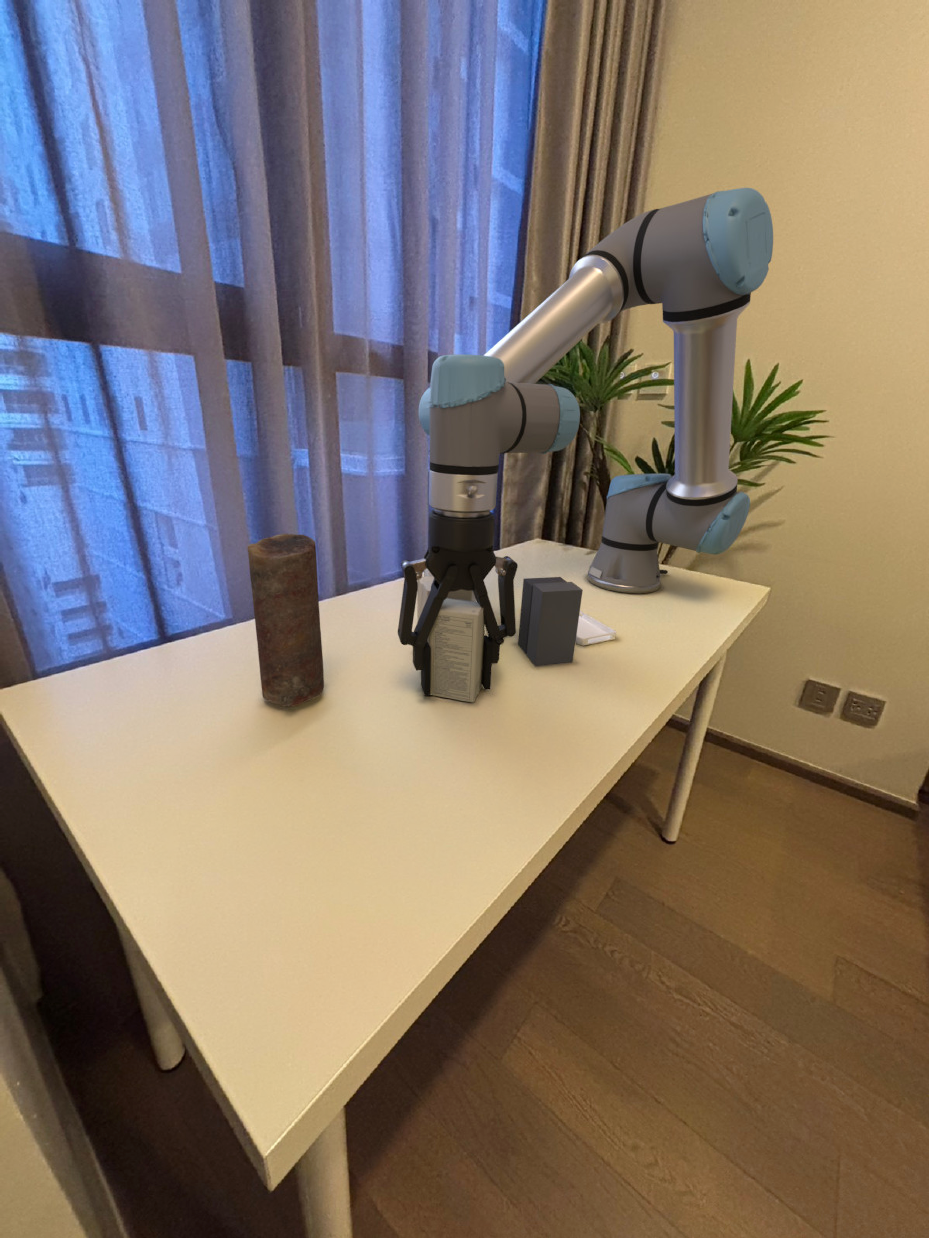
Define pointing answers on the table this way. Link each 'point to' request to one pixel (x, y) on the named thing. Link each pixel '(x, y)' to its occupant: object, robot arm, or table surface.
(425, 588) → the white rectangular block
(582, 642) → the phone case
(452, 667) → the cosmetic box
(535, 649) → the dark grey upright block
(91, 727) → the table surface
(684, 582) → the table surface
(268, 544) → the candle
